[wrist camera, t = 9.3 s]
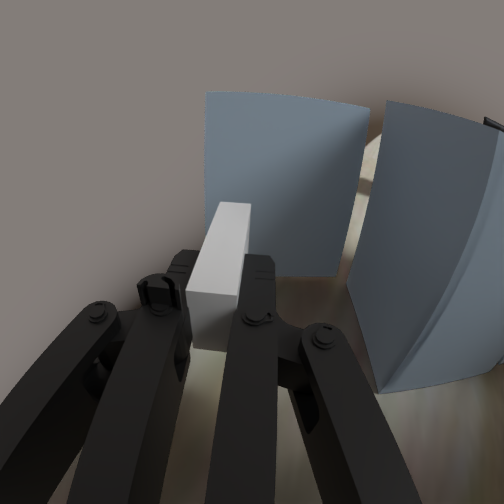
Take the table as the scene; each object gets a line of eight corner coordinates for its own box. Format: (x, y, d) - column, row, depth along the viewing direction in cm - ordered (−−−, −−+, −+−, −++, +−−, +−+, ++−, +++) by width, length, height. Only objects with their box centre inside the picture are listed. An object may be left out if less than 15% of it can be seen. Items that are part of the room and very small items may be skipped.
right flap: (332, 269, 22) (364, 107, 15) (335, 276, 21) (370, 108, 14) (208, 267, 21) (207, 91, 14) (207, 274, 20) (205, 91, 14)
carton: (449, 286, 21) (499, 142, 14) (498, 370, 13) (591, 197, 5) (346, 283, 21) (386, 100, 14) (379, 395, 13) (501, 130, 5)
